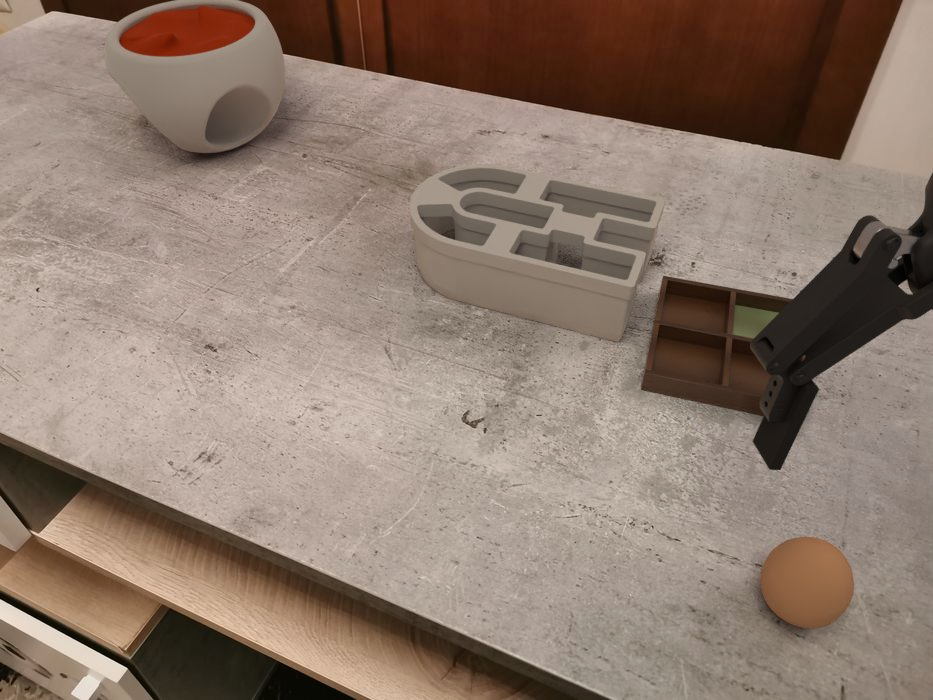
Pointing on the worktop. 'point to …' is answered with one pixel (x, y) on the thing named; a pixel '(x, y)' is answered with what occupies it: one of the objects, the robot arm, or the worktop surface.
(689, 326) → the compartment tray
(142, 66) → the pot
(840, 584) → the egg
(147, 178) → the worktop surface
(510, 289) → the grey compartment organizer
